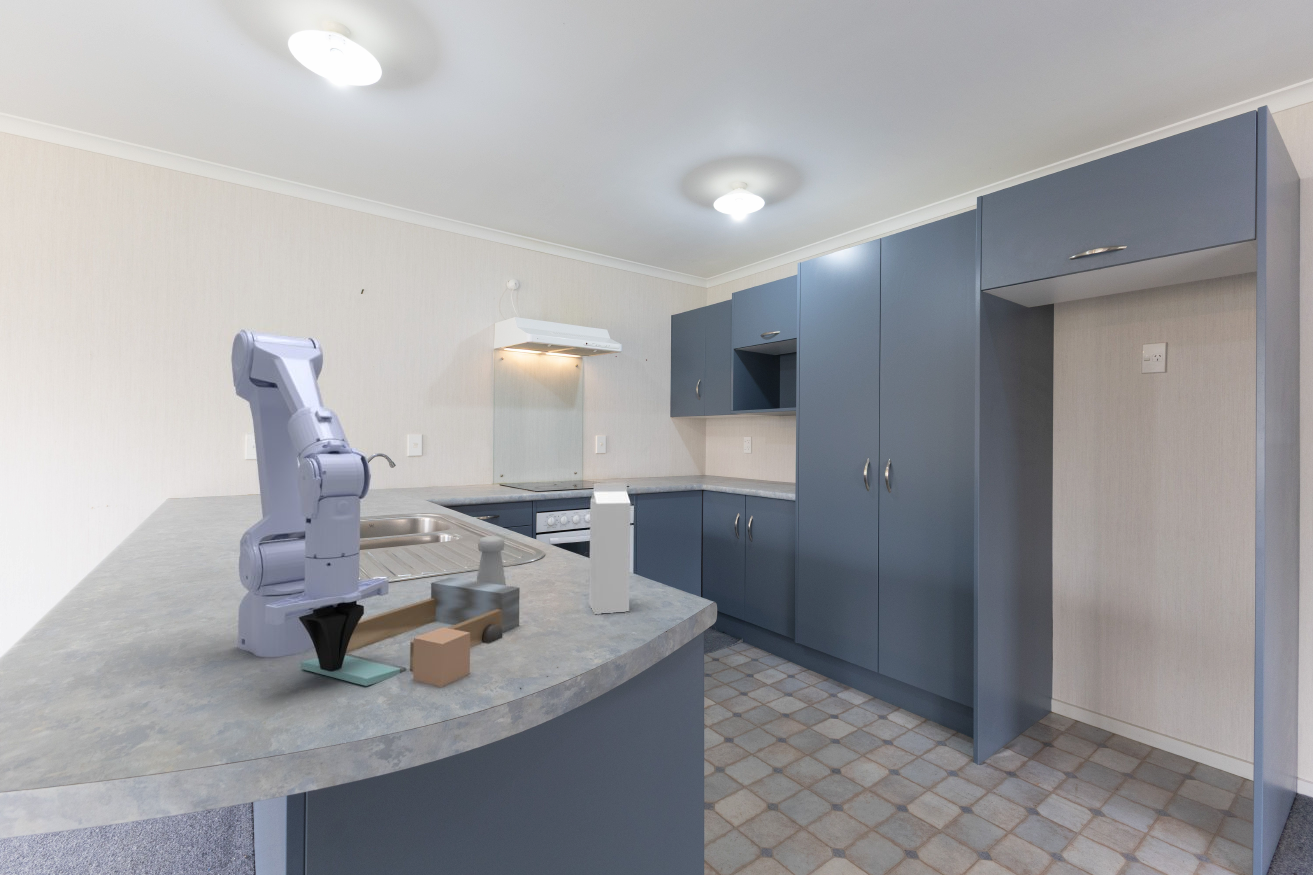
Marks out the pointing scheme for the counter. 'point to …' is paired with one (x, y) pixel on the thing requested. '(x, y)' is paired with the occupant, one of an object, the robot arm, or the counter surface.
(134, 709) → the counter surface
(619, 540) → the milk
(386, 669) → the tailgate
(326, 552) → the robot arm
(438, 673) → the tan rectangular block
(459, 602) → the flatbed
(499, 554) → the salt shaker
